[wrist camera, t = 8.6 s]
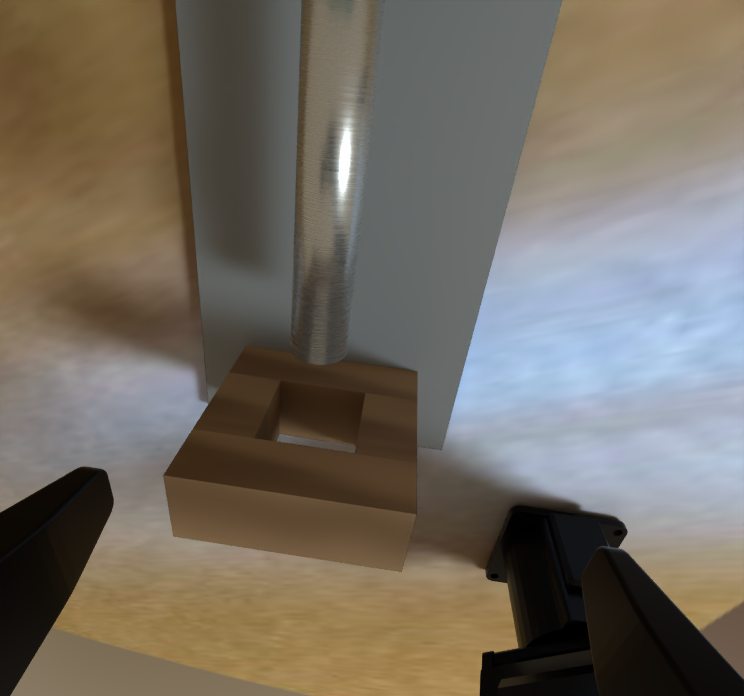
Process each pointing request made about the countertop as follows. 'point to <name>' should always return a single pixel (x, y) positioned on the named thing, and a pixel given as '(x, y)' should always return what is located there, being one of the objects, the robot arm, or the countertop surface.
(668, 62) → the countertop surface
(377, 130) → the base board
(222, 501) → the square wooden collar
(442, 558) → the countertop surface
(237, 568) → the countertop surface
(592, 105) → the countertop surface
